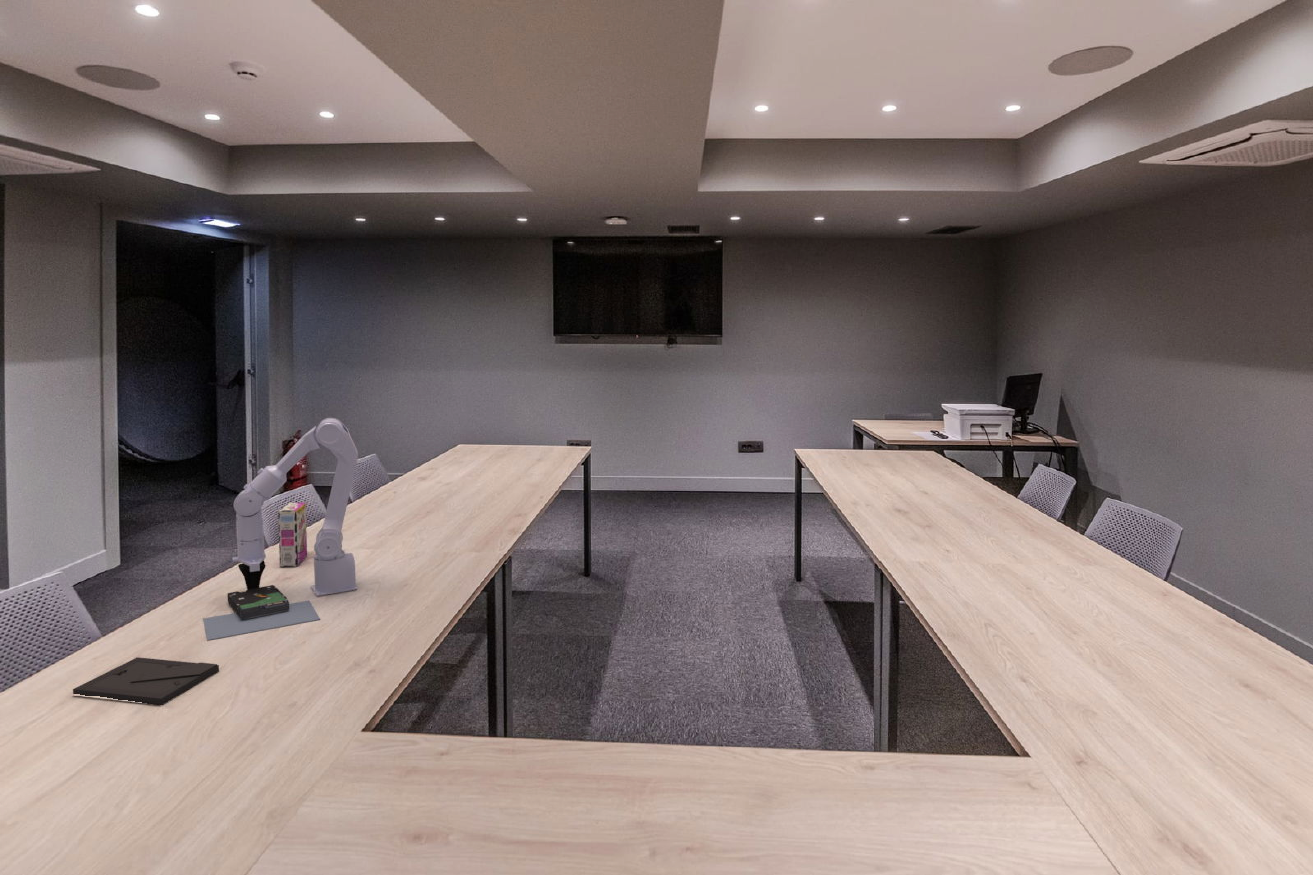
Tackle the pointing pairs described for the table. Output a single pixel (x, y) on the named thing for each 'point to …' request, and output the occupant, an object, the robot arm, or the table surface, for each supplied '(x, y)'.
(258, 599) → the disk drive
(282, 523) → the candy bar box
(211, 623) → the mat
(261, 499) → the robot arm
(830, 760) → the table surface
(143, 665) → the picture frame
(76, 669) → the table surface
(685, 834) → the table surface
